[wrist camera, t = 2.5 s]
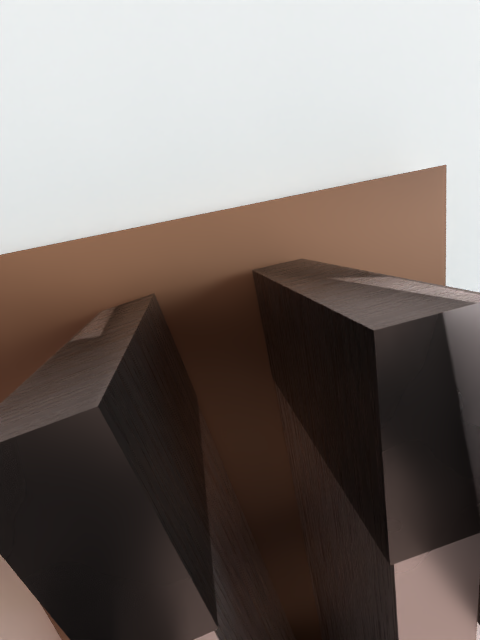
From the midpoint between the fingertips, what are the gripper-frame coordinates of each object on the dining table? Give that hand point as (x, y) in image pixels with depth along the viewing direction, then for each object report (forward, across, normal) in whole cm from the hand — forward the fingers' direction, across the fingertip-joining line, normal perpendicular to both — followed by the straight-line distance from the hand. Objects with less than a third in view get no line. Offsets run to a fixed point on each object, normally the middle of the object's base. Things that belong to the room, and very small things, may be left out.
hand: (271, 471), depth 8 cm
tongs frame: (+1, 0, +5) cm, 5 cm away
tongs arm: (+1, +1, +4) cm, 4 cm away
